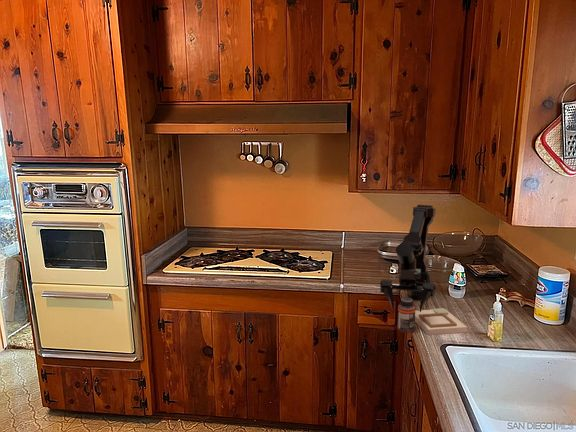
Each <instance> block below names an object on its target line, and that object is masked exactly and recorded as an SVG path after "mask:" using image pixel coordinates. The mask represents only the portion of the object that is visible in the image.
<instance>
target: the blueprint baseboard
mask: <svg viewBox="0 0 576 432" xmlns="http://www.w3.org/2000/svg"><path fill="white" fill-rule="evenodd" d="M415 324H417V325H418V326H419V328H421V330H423V331H424V332H425V333H426V334H427V336H433V335H435V336H436V335H446V334H461V333H462V334H464V333H467V332H468V326H467V325H466V324H465V323H463V322H462V321H460V320H459V319H458V318H457V317H456V316H455V315H453V314H452V313H451V312H450V311H448V310H447V308H443V307H442V308H433V309H422V310H421V312H420V309H419V310H415Z"/></svg>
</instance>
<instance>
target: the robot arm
mask: <svg viewBox="0 0 576 432" xmlns="http://www.w3.org/2000/svg"><path fill="white" fill-rule="evenodd" d="M436 209H437V208H436V207H434V206H433V205H427V204H417V206H413V208H412V216H413V217H412V221H411V224H410V229H409V231H408V233H407V234H406V235H405V236H404V237H403V239H402V242H400V244H397V246H396V248H395V253H396V257H397V259H398V260H397V261H398V262H399V275H398V278H399V279H398V283H393V280H391V279H381V280H380V282H379V283H380V285H379V286H380V287H379V288H380V293H383V295H384V296H386V297H387V299H388V301H389V303H390V307H391V309H392V310H394V309H395V303H394V292H393V291H394V290H398V291H409V292H408V293H407V296H409V298H411V299H412V300H413V301H414V300H420V305H419V310H420V312H421V310H423V307H424V306H425V303H426V301H427V300H429V299H431V298H432V297H433V298H434V297H435V294H436V285H435V283H433V282H431V275H430V272H429V268H428V265H427V263H426V261H425V260H426V255H427V254H426V252H427V243H428V236H429V235H428V234H429V227H430V226H431V224H433V222H434V218H436V213H437V211H436Z"/></svg>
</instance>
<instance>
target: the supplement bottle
mask: <svg viewBox="0 0 576 432" xmlns="http://www.w3.org/2000/svg"><path fill="white" fill-rule="evenodd" d="M413 302H414V300H413V299H412V298H411V297H401V299H400V303H399V304H398V305H397V323H396V326H397V330H398V331H399V332H401V333H404V334H408V333H409V334H411V333H413V332H414V331H415V330H416V329H415V328H416V326H415V325H416V322H415V311H416V306H415V305H414V303H413Z"/></svg>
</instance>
